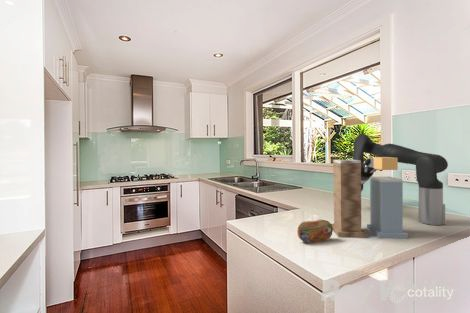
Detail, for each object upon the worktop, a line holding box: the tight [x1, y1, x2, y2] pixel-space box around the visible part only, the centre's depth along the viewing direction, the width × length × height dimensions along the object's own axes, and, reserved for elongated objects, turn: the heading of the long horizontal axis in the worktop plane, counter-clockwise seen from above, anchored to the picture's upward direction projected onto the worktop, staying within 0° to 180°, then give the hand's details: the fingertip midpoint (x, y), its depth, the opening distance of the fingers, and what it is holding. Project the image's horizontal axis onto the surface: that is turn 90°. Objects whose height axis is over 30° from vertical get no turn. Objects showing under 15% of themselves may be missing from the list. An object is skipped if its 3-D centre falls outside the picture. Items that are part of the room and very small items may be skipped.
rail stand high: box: [330, 158, 367, 239], centre depth 105 cm, size 11×12×32 cm
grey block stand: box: [366, 176, 409, 240], centre depth 103 cm, size 11×12×24 cm
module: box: [366, 156, 399, 171], centre depth 108 cm, size 6×18×5 cm, turn 172°
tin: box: [297, 219, 334, 244], centre depth 97 cm, size 15×3×8 cm, turn 105°
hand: (375, 160), depth 113 cm, fingers closed on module, 4 cm apart
